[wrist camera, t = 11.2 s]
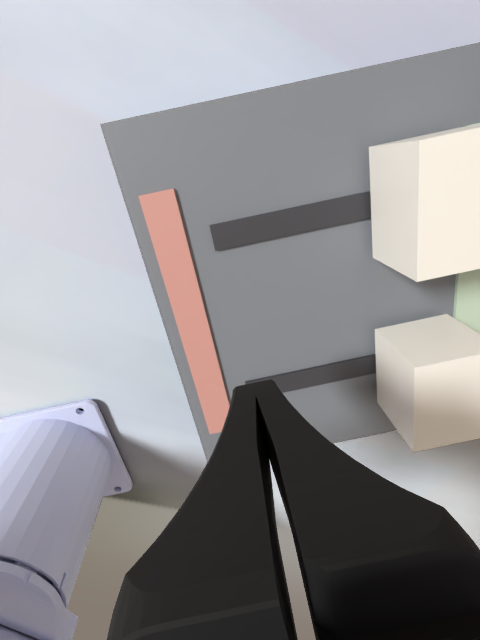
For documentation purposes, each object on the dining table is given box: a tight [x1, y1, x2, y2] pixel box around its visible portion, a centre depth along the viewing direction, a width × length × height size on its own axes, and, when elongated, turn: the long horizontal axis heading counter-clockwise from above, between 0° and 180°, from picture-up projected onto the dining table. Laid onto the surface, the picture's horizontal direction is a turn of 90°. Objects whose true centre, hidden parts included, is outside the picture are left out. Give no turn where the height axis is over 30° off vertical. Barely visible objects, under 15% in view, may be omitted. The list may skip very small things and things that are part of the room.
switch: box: [375, 314, 480, 452], centre depth 18 cm, size 4×5×4 cm
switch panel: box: [100, 43, 480, 462], centre depth 19 cm, size 18×20×2 cm
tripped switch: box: [369, 124, 480, 282], centre depth 14 cm, size 4×5×4 cm
